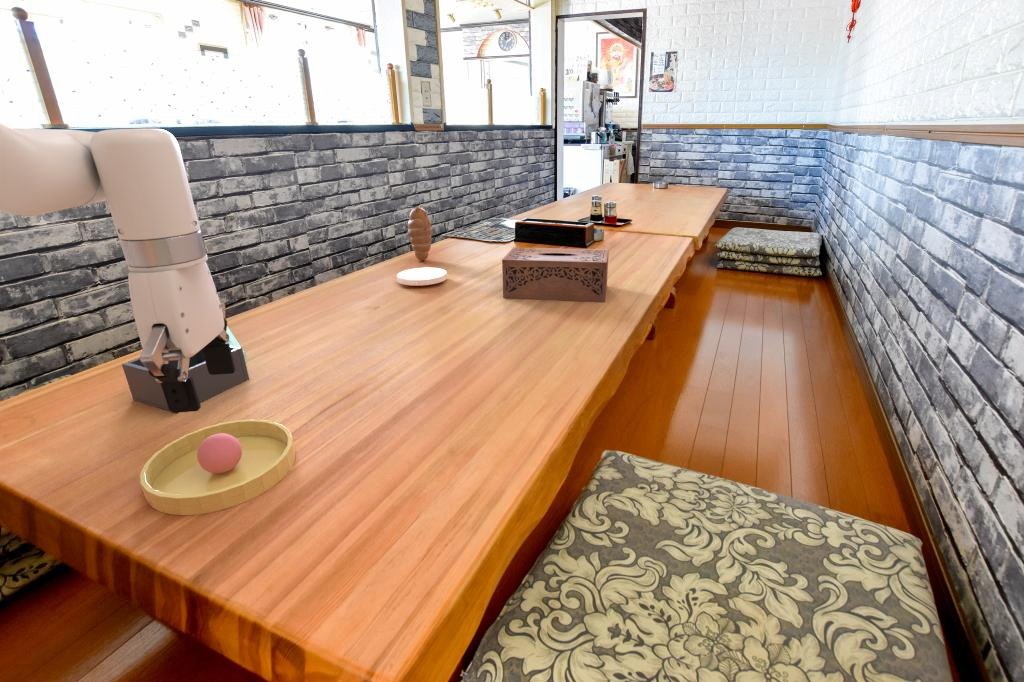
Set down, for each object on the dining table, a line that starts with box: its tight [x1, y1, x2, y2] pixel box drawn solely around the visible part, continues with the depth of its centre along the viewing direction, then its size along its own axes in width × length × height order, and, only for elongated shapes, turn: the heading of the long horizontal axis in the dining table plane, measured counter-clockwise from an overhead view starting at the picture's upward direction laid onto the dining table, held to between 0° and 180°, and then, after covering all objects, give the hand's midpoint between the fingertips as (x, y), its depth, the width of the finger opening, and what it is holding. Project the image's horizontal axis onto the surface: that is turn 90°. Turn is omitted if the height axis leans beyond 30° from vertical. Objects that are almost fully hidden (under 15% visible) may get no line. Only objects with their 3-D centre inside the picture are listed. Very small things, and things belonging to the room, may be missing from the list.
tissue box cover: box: [501, 246, 610, 303], centre depth 138 cm, size 26×14×10 cm, turn 79°
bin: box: [121, 345, 250, 414], centre depth 89 cm, size 13×13×7 cm
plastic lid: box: [396, 266, 448, 287], centre depth 151 cm, size 14×14×2 cm
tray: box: [139, 418, 296, 516], centre depth 68 cm, size 17×17×3 cm
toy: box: [197, 433, 242, 474], centre depth 67 cm, size 5×5×5 cm
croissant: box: [407, 204, 433, 262], centre depth 172 cm, size 9×8×18 cm
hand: (205, 390), depth 64 cm, fingers open, 9 cm apart
